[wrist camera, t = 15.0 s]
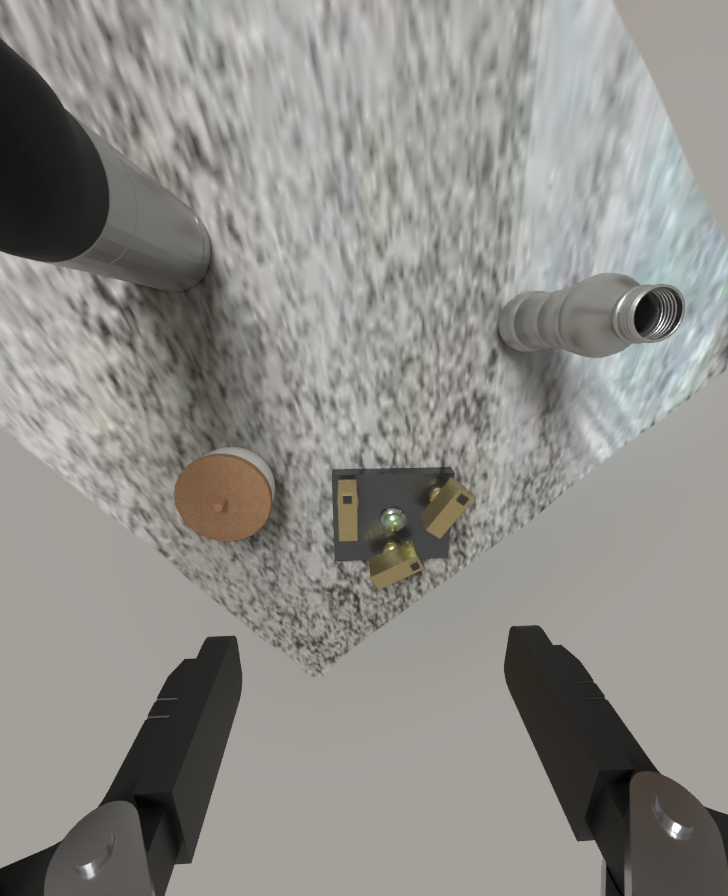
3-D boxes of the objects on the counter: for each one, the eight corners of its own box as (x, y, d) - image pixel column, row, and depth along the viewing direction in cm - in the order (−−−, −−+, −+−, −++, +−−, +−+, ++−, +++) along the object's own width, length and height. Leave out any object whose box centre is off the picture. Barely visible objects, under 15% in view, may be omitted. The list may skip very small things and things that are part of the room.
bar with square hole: (376, 564, 49) (379, 593, 44) (367, 550, 49) (369, 577, 43) (417, 545, 49) (425, 572, 43) (408, 530, 48) (416, 555, 43)
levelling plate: (335, 552, 51) (334, 566, 48) (332, 469, 47) (331, 479, 44) (443, 549, 52) (450, 563, 49) (450, 467, 48) (457, 476, 45)
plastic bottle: (513, 362, 44) (640, 385, 25) (481, 320, 42) (591, 309, 23) (556, 325, 43) (724, 319, 24) (525, 280, 41) (679, 234, 22)
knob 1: (358, 518, 47) (360, 542, 42) (337, 518, 47) (336, 542, 42) (358, 473, 45) (359, 493, 40) (336, 474, 45) (334, 493, 40)
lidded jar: (203, 508, 48) (170, 548, 39) (199, 433, 45) (162, 457, 36) (282, 512, 49) (267, 552, 40) (283, 439, 46) (268, 465, 37)
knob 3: (431, 517, 48) (442, 541, 42) (415, 507, 47) (424, 530, 42) (461, 481, 46) (476, 501, 41) (445, 470, 45) (458, 489, 40)
